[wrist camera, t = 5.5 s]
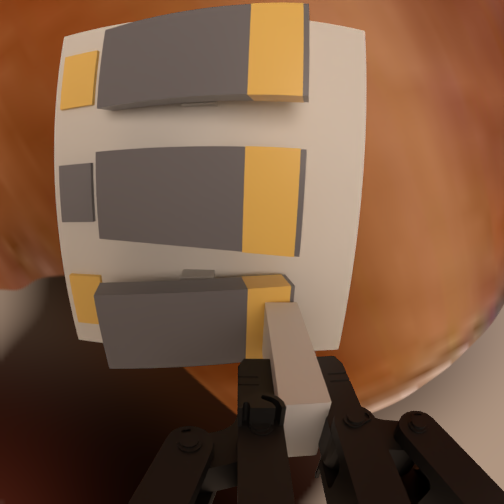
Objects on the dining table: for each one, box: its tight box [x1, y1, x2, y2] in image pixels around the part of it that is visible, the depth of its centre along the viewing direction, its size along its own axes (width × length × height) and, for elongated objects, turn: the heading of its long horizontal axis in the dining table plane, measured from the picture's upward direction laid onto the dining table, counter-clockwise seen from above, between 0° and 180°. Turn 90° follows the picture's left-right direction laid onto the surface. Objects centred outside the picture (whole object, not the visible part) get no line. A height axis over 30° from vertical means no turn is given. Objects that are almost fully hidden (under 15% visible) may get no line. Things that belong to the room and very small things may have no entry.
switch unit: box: [54, 21, 366, 351], centre depth 16 cm, size 16×18×5 cm
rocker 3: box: [94, 274, 295, 369], centre depth 14 cm, size 9×4×1 cm, turn 88°
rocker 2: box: [96, 146, 307, 257], centre depth 13 cm, size 9×4×1 cm, turn 88°
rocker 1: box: [97, 3, 310, 111], centre depth 11 cm, size 9×4×1 cm, turn 88°
